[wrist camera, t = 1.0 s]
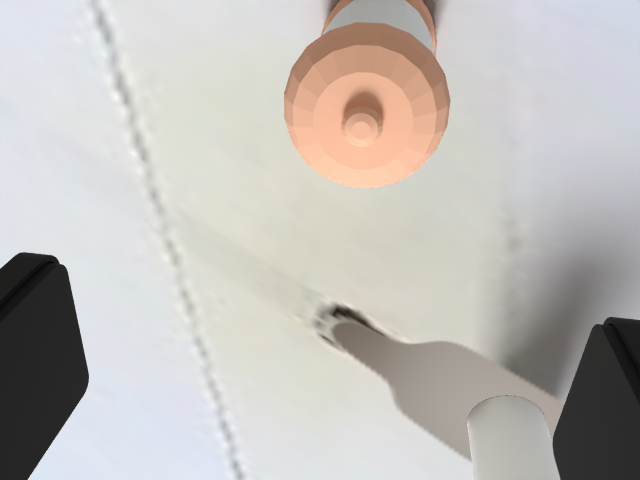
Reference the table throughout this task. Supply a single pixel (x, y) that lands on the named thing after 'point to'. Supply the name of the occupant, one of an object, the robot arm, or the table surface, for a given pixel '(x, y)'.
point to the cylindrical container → (510, 441)
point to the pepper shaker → (369, 94)
